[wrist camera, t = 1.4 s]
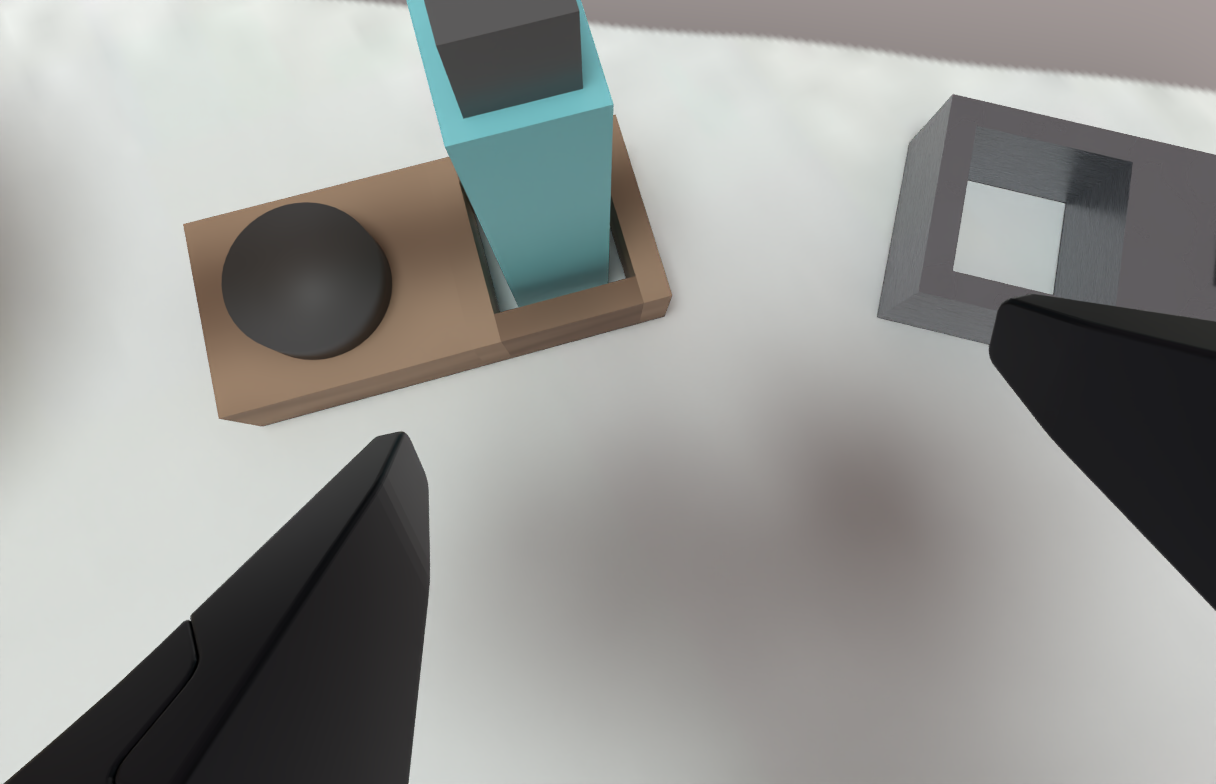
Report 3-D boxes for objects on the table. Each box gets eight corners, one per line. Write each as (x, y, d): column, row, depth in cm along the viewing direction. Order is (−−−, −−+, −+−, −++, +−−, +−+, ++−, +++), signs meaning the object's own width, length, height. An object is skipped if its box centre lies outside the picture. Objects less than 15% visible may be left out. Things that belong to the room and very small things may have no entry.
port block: (1322, 425, 22) (1439, 415, 19) (877, 316, 23) (920, 289, 20) (1332, 241, 23) (1444, 204, 20) (909, 142, 24) (955, 91, 21)
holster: (664, 316, 23) (676, 283, 19) (261, 426, 22) (194, 414, 18) (614, 153, 24) (616, 92, 20) (228, 252, 23) (157, 208, 19)
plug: (608, 285, 23) (615, 29, 10) (519, 309, 23) (413, 78, 10) (583, 204, 23) (561, -140, 11) (497, 226, 23) (368, -96, 10)
